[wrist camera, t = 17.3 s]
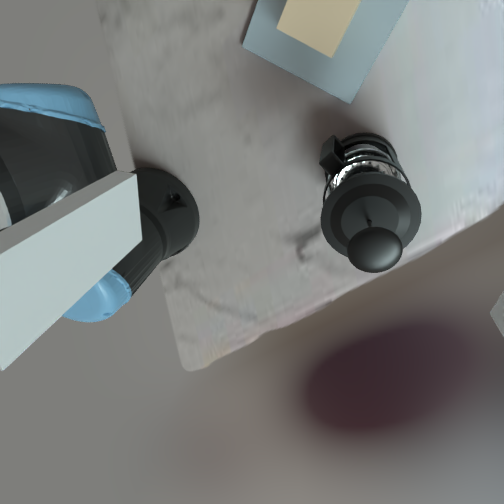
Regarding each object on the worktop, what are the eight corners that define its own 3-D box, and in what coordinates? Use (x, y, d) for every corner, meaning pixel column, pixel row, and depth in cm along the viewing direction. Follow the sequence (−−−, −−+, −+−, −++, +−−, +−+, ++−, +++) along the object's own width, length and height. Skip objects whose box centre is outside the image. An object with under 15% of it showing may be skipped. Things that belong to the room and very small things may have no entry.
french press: (416, 172, 44) (474, 265, 25) (358, 216, 49) (369, 322, 30) (357, 106, 42) (371, 152, 23) (302, 159, 47) (275, 233, 27)
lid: (244, 47, 42) (221, 45, 34) (292, -88, 35) (278, -129, 27) (349, 103, 42) (351, 114, 34) (418, -19, 35) (440, -39, 27)
